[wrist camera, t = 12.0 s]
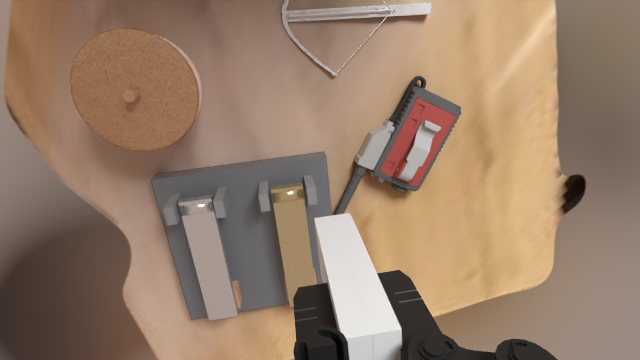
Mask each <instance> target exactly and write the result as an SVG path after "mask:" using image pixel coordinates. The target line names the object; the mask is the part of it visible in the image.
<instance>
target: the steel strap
mask: <svg viewBox="0 0 640 360" xmlns="http://www.w3.org/2000/svg"><path fill="white" fill-rule="evenodd" d="M213 200H214V199H213V195H208V196H200V197H193V198H186V199H180V201H179V202H178V204H179V208H180V213H181V216H182V219H183V223H184V227H185V231H186V234H187V238H188V242H189V246H190V250H191V253H192V257H193V261H194V265H195V269H196V272H197V276H198V280H199V284H200V287H201V291H202V295H203V299H204V303H205V306H206V310H207V314H208V318H209V321H210V320H216V319H222V318H228V317H234V316H238V311H239V310H238V306H237V301H236V297H235V293H234V288H233V284H232V279H231V275H230V270H229V266H228V262H227V257H226V253H225V248H224V244H223V239H222V235H221V230H220V226H219V222H218V218H217V217H216V213H215V209H214V204H213Z"/></svg>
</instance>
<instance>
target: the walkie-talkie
mask: <svg viewBox="0 0 640 360" xmlns="http://www.w3.org/2000/svg"><path fill="white" fill-rule="evenodd" d="M418 80H420V81H421V86H420V87H416V86H414V85H415V83H416V82H417V81H418ZM425 86H426V80H425V79H424V78H423V77H421V76H417V77H415V78H414V79H413V80H412V81H411V83H410V85H409V87H408V89H407V91H406V93H405V95H404V97H403V99H402V101H401V103H400V104H399V106H398V108H397V110H396V112H395V113H394V115H392V116H391V117H390V118H389V120H387V119H386V121H385V123H384V124H382V125H380V126H379V127H377V128H375V129H373V130H372V131H370V132H369V134H368V136H367V138H366V140H365V142H364V144H363V146H362V148H361V150H360V152H359V153H358V154H357V155H356V157H355V159H354V160H355V161H356V163H357V164H358V165H357V167H356V169H355V171H354V172H355V173H354V175H353V177H352V179H351V181H350V183H349V185H348V187H347V189H346V191H345V193H344V195H343V197H342V200H341V202H340V204H339V206H338V208H337V210H336V212H335V214H334V215H339V214H343V213H344V211H345V209H346V207H347V205H348V204H349V202H350V200H351V198H352V196H353V194H354V192H355V190H356V188H357V186H358V184H359V182H360V180H361V178H362V176H364V174H365V172H366V170H367V168H368V169H370V171H371V173H370V175H371V176H373V177H376V176H377V177H378V179H377V180H378V181H380V182H382V183H383V182H384V180H387V181H389V182H392V184H391V185H392V187H393V188H394V189H396V190H398V191H400V192H403V193H406V192H407V189H409V190H411V191H417V190H419V188H420V187H421V185H422V183H423V181H424V179H425V178H426V176H427V174H428V172H429V171H430V169H431V167H432V165H433V163H434V162H435V160H436V157H437V156H438V153H439V152H440V151H441V148H442V147H443V144H445V141H446V140H447V137H448V136H449V135H450V132H451V131H452V128H453V127H454V125H455V123H456V122H457V120H458V119H459V116H460V115H461V107H460V106H458V105H456V104H454V103H452V102H450V101H448V100H446V99H444V98H442V97H439V96H437V95H435V94H433V93H431V92H429V91H427V90H425V89H424V88H425Z"/></svg>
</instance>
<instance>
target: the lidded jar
mask: <svg viewBox="0 0 640 360" xmlns="http://www.w3.org/2000/svg"><path fill="white" fill-rule="evenodd" d="M70 85H71V93H72V97H73V100H74V103H75V105H76V108H77V110H78V112H79V113H80V115H81V117H82V118H83V120H84V121H85V122H86V123H87V124H88V126H89V127H90V128H91V129H92V130H93V131H94V132H95V133H97V134H98V135H99V136H101V137H102V138H103V139H105V140H106V141H108V142H110V143H112V144H114V145H116V146H119V147H122V148H124V149H129V150H133V151H154V150H159V149H162V148H165V147H168V146H170V145H172V144H174V143H175V142H177V141H178V140H179V139H181V138H182V137H183V136H184V135H185V134H186V133H187V131H188V130H189V129H190V128H191V126H192V124H193V123H194V121H195V119H196V117H197V115H198V113H199V110H200V107H201V102H202V85H201V80H200V77H199V74H198V72H197V70H196V67H195V66H194V64H193V62H192V61H191V59H190V58H189V57H188V56H187V55H186V54H185V52H184V51H182V50H181V49H180V48H179V47H178V46H176V45H175V44H173V43H172V42H170V41H169V40H167V39H165V38H163V37H160V36H158V35H155V34H152V33H148V32H145V31H142V30H135V29H115V30H110V31H106V32H103V33H101V34H98V35H97V36H95V37H93V38H92V39H90V40H89V41H88V42H87V43H86V44H85V45H84V46H83V47H82V48H81V49H80V51H79V52H78V53H77V55H76V58H75V60H74V62H73V65H72V69H71V76H70Z"/></svg>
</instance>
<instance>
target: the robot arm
mask: <svg viewBox="0 0 640 360" xmlns="http://www.w3.org/2000/svg"><path fill="white" fill-rule="evenodd" d="M314 221H315V229H316V237H317V246H318V254H319V262H320V270H321V276H322V281H323V283H322V284H316V285H310V286H304V287H298V289H297V291H296V293H295V295H294V298H293V304H294V316H295V329H296V342H295V346H294V357H295V360H557V359H556V358H555V357H554V356H553V355H551V354H550V353H549V352H548V351H546V350H545V349H543V348H542V347H540V346H539V345H537V344H535V343H532V342H529V341H526V340H521V339H510V340H505V341H503V342H502V343H501V344H499V345H498V346H497V350H496V352H495V353H492V352H482V351H474V350H468V349H465V348H462V347H459V346H458V345H457V344H456V342H455V341H454V340H453V339H451V338H449V337H448V336H446V335H444V334H442V332H441V331H440V329H439V327H438V326H437V324H436V322H435V320H434V319H433V317H432V315H431V313H430V312H429V310H428V308H427V306H426V305H425V303H424V301H423V299H421V296H420V294H419V293H418V291H417V290H416V287H415V286H414V284H413V282H412V280H411V279H410V278H409V277H408V276H407V275H405V274H404V273H403V272H401V271H400V270H396V271H390V272H384V273H378V274H377V273H376V270H375V268H374V266H373V264H372V261H371V259H370V257H369V255H368V252H367V250H366V248H365V246H364V243H363V241H362V239H361V237H360V235H359V232H358V230H357V228H356V226H355V223H354V221H353V219H352V217H351V214H350V213H345V214H339V215H332V216H325V217H318V218H314Z"/></svg>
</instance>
